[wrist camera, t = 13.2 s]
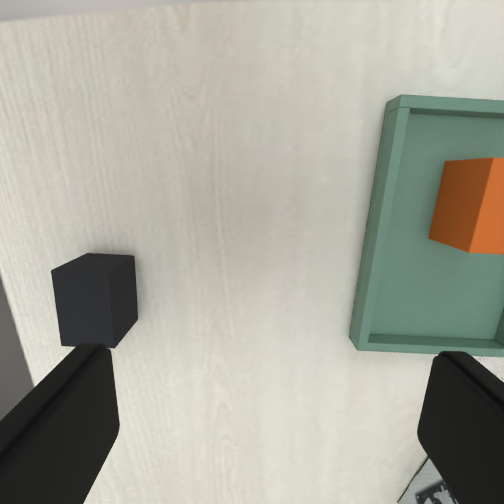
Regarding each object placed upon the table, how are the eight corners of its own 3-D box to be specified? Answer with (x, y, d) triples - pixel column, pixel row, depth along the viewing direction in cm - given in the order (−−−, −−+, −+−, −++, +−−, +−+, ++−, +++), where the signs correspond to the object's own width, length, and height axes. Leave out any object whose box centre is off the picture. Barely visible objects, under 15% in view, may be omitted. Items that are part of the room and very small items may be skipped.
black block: (86, 252, 24) (50, 270, 19) (134, 255, 24) (108, 272, 20) (93, 317, 25) (61, 346, 21) (138, 319, 25) (114, 348, 21)
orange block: (444, 160, 21) (494, 157, 17) (496, 164, 21) (559, 160, 17) (427, 238, 23) (468, 253, 19) (476, 241, 23) (528, 256, 19)
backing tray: (386, 102, 21) (401, 94, 19) (567, 112, 21) (601, 105, 19) (348, 337, 26) (357, 350, 24) (494, 344, 26) (515, 358, 24)
